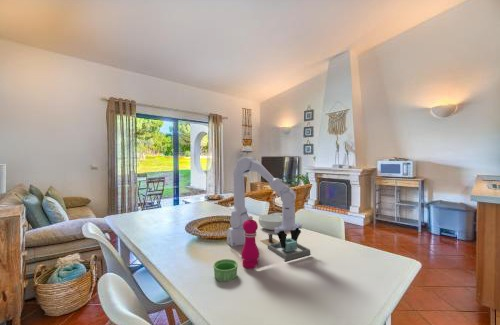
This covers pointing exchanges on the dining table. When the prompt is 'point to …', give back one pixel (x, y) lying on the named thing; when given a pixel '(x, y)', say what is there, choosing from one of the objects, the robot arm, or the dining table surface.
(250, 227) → the pepper mill
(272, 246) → the tray
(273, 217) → the cereal bowl
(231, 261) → the ramekin
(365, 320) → the dining table surface
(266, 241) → the stake board
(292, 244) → the collar
